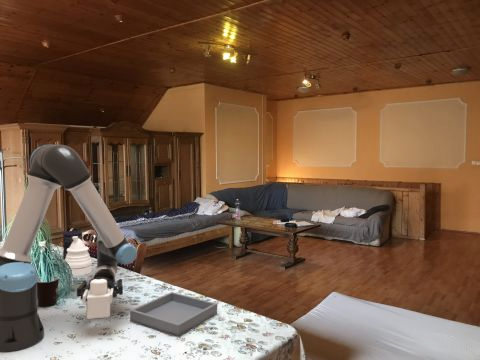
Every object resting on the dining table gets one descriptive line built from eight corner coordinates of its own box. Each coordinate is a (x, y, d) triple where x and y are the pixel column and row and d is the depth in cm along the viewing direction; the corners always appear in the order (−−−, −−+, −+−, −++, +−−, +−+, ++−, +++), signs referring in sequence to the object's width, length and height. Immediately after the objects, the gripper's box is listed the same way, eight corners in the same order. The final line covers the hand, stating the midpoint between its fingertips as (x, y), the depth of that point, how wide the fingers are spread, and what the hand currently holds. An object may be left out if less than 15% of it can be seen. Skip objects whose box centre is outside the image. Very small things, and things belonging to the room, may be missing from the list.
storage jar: (84, 260, 216) (83, 233, 215) (64, 262, 211) (63, 234, 210) (81, 255, 224) (80, 229, 223) (62, 258, 219) (61, 231, 218)
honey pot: (83, 276, 188) (82, 239, 186) (58, 275, 190) (57, 238, 188) (96, 269, 200) (96, 233, 199) (73, 267, 202) (72, 232, 201)
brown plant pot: (49, 309, 149) (49, 283, 148) (29, 307, 151) (29, 281, 150) (69, 298, 160) (68, 274, 160) (50, 296, 162) (49, 272, 162)
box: (130, 321, 140) (130, 310, 139) (171, 301, 158) (171, 291, 158) (178, 337, 128) (178, 325, 128) (217, 314, 147) (217, 303, 147)
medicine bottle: (88, 310, 134) (88, 275, 133) (110, 309, 136) (110, 274, 135) (86, 319, 127) (86, 282, 126) (109, 317, 129) (110, 281, 128)
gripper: (132, 286, 151) (130, 309, 129) (75, 289, 146) (63, 313, 124) (132, 267, 151) (130, 286, 129) (75, 269, 146) (63, 289, 124)
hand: (97, 299), depth 126 cm, fingers closed on medicine bottle, 7 cm apart
